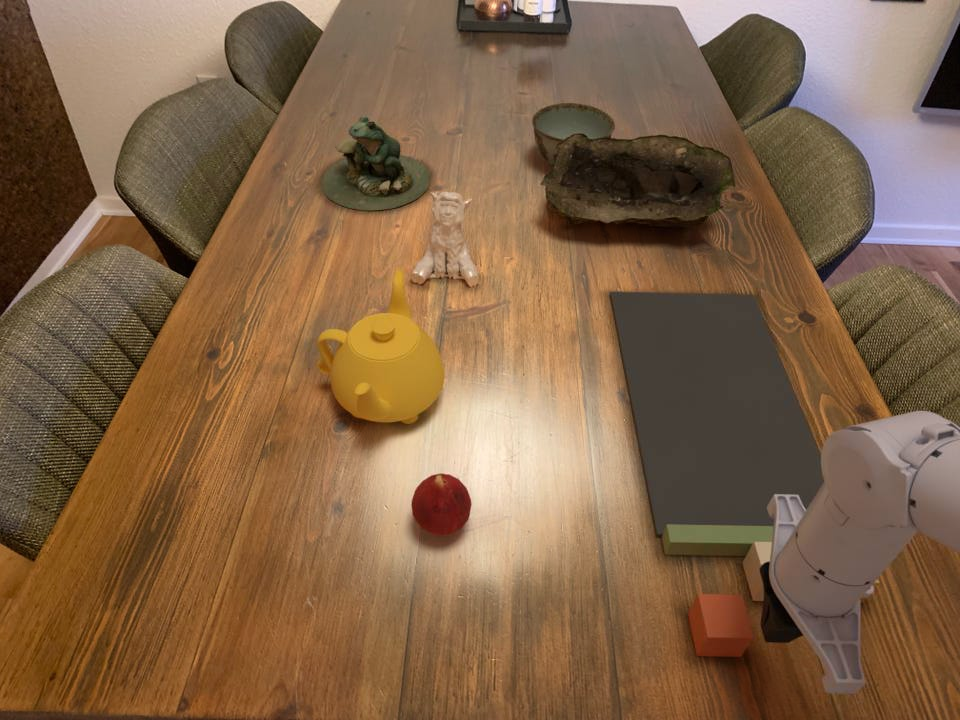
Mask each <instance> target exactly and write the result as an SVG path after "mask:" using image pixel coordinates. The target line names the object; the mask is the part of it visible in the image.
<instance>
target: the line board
mask: <svg viewBox="0 0 960 720" xmlns="http://www.w3.org/2000/svg"><path fill="white" fill-rule="evenodd" d="M609 297H610V303H611V308H612V313H613V319H614V323H615V328H616V329H615V330H616V334H617V339H618V344H619V351H620V354H621V360H622V365H623V370H624V375H625V381H626V386H627V391H628V397H629V402H630V408H631V411H632V417H633V422H634V427H635V431H636V432H635V434H636V438H637V443H638V448H639V454H640V459H641V464H642V469H643V474H644V475H643V476H644V480H645V486H646V490H647V495H648V500H649V505H650V506H649V507H650V510H651V516H652V521H653V526H654V532H655V537H656V538H661V541H662V542H661V543H662V547H663V552H664V555H665V556H706V557H707V556H711V557H712V556H713V557H746V555H747V553H748V552H749V550H750V548H751V546H752V545H753V543H754V542H772V535H773V525H774V519H773V518H771V517H770V516H769V513H768V510H767V506H768V504H769V502H770V501H771V499H772V497H773V495H774V494H790V495H799V497H800V500H801V502H802V504H803V506H804V508H805V509H806V510H807V508H808V507H809V505H810V504H811V502H812V500H813V499H814V497H815V496H816V494H817V492H818V491H819V489H820V488H821V486H822V484H823V483H824V478H823V474H822V469H821V453H820V451H819V449H818V447H817V444H816V441H815V439H814V437H813V434H812V432H811V429H810V427H809V425H808V421H807V420H806V417H805V415H804V412H803V410H802V407H801V405H800V403H799V401H798V397H797V396H796V393H795V390H794V388H793V385H792V383H791V381H790V379H789V376H788V374H787V371H786V368H785V366H784V364H783V361H782V359H781V357H780V354H779V352H778V350H777V347H776V345H775V343H774V339H773V337H772V335H771V332H770V330H769V328H768V326H767V323H766V321H765V318H764V316H763V313H762V310H761V309H760V306H759V303H758V301H757V299H756V296H755V294H738V293H737V294H735V293H696V292H695V293H690V292H689V293H688V292H687V293H686V292H644V291H643V292H642V291H610V292H609Z"/></svg>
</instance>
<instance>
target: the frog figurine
mask: <svg viewBox="0 0 960 720" xmlns="http://www.w3.org/2000/svg"><path fill="white" fill-rule="evenodd" d="M347 132H348V135H349V136H350V137H351V138H352V139H351V138H347V139H343V140H341V141H340V142H338V143H337V144H336V146H335V149H336V150H337V152H338V153H341V154H342V157H345V158H344V159H342V160H340V161H339V162H336V163H335V164H334V165H332V166H331V167H329V168H328V169H327V171H326V172H325V173H324V175H323V177H322V179H321V183H320V184H321V189H322V191H323V193H324V195H325V197H326V198H328V199H329V200H330V201H332V202H333V203H335V204H337V205H339V206H341V207H344V208H347V209H352V210H357V211H382V210H383V211H384V210H391V209H395V208H399V207H403V206H404V205H407V204H410V203H411V202H413V201H416V200H417V199H418V198H420V197H421V196H422V195H423V194H424V193H426V191H427V190H428V189H429V188H430V185H431V175H430V172H429V170H428V168H427V167H426V166H425V165H424V164H423V163H421V162H420V161H418V160H417V159H414V158H412V157H411V156H406V155H403V154H401V152H402V151H401V144H400V142H399V140H397V139H396V138H395V137H392V136H391V135H388V134H387V133H386V131H384V129H383V128H382V127H381V126H379V125H378V124H376V122H375V121H374V120H372V119H371V120H370V119H369V118H368V117H367V116H366V115H362V116H361V117H360V118H359V121H358V122H357V123H354V124H352V125H351V126H350V127H349V129H348V131H347Z"/></svg>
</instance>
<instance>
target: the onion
mask: <svg viewBox="0 0 960 720" xmlns="http://www.w3.org/2000/svg"><path fill="white" fill-rule="evenodd" d="M410 506H411V513H412V517H413V519H414V521H415V522H416V524H417V525H418V526H419V527H420V529H422V530H424V531H425V532H427V533H428V534H430V535H433V536H438V537H443V536H450V535H452V534H454V533H456V532H458V531H460V530H461V529H462V528H463V527H464V526H465V524H467V522H468V521H469V519H470V514H471V511H472V510H471V509H472V499H471V496H470V493H469V490H468V488H467V487H466V485H464V483H462V481H461V480H460V479H459V478H458V477H455V476H453V475H451V474H448V473H435V474H431V475H429V476H428V477H427V478H425V479H423V480H422V481H421V482H420V484H419V485H418V486H417V487H416V488H415V490H414V493H413V495H412V499H411V505H410Z"/></svg>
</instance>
